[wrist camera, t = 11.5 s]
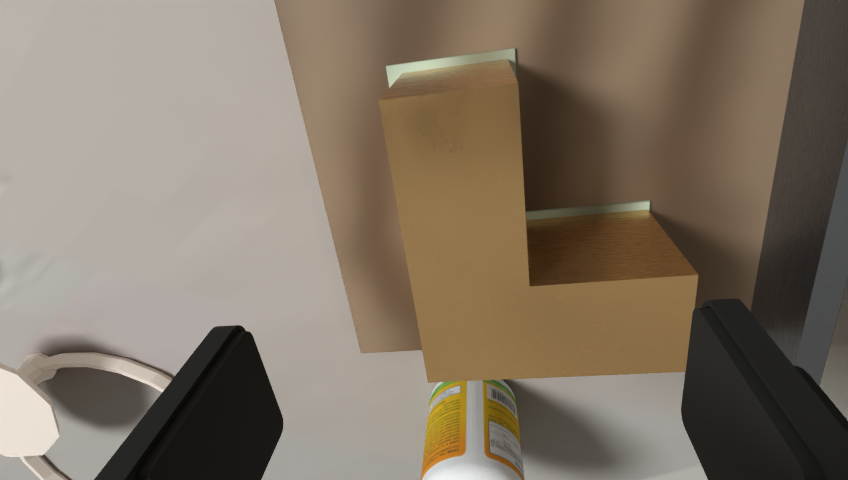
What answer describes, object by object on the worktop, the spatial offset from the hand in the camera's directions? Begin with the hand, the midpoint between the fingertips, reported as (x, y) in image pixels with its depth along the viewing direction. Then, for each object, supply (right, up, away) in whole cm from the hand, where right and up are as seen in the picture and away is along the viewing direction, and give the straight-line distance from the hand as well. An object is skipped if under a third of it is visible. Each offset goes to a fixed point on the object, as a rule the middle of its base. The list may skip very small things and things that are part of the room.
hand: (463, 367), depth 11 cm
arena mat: (+5, +7, +13) cm, 16 cm away
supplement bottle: (+2, -7, +21) cm, 22 cm away
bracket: (+4, +5, +13) cm, 14 cm away
